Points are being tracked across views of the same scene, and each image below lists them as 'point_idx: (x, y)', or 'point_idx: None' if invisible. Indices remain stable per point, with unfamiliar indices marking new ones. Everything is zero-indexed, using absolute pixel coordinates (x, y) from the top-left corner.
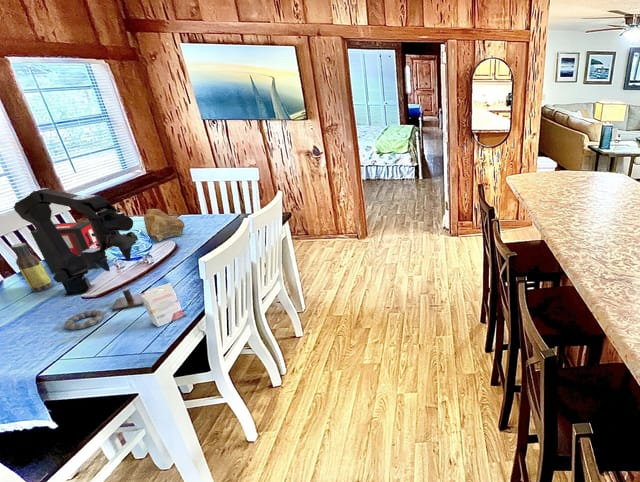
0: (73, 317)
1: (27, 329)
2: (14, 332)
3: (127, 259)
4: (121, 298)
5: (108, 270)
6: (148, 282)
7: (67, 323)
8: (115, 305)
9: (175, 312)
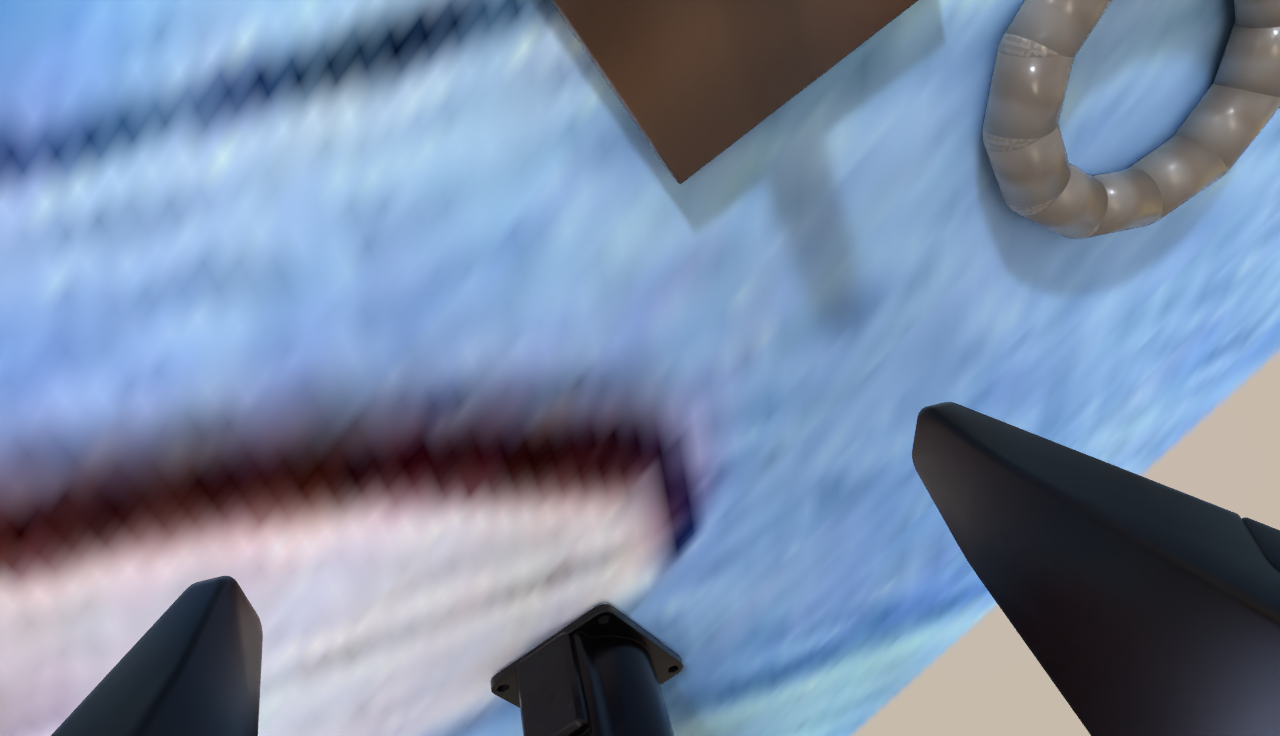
0: (1136, 200)
1: (1120, 422)
2: (1139, 455)
3: (243, 636)
4: (696, 123)
5: (969, 412)
6: (161, 252)
7: (1253, 134)
8: (871, 15)
9: None
